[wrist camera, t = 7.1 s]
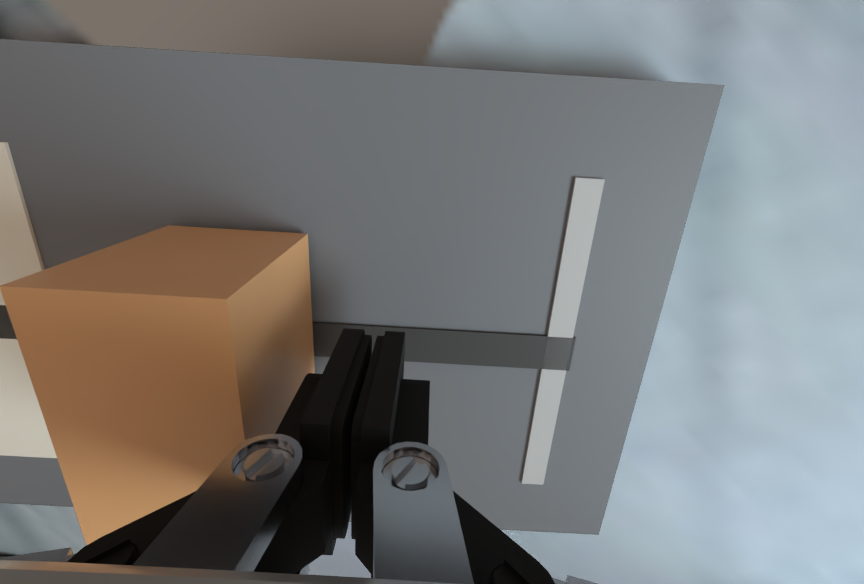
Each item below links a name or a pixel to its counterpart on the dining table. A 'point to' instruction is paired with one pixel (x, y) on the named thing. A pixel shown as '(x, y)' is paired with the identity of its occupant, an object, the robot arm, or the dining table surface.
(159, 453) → the fader knob
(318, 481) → the robot arm
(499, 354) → the fader console
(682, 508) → the dining table surface
